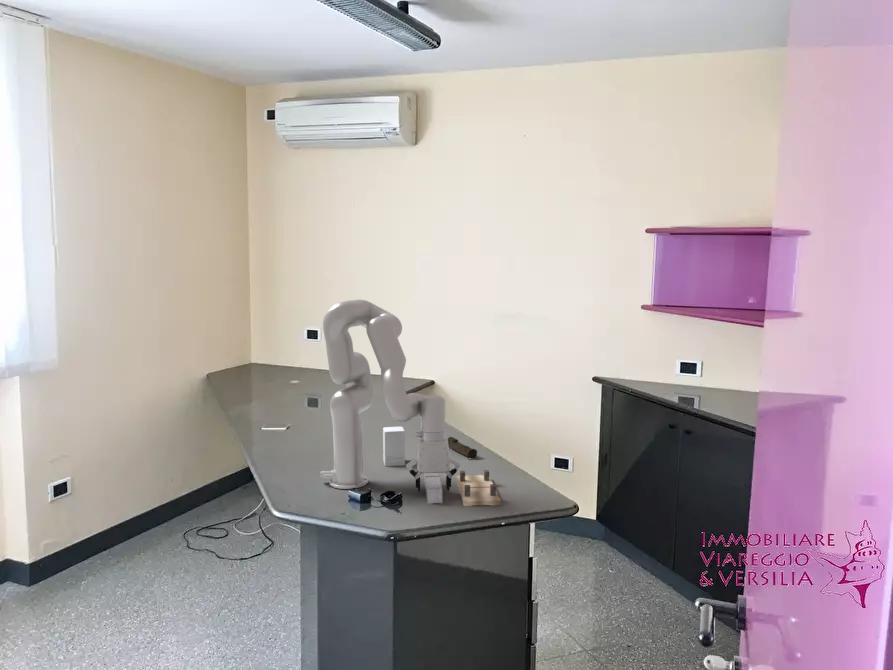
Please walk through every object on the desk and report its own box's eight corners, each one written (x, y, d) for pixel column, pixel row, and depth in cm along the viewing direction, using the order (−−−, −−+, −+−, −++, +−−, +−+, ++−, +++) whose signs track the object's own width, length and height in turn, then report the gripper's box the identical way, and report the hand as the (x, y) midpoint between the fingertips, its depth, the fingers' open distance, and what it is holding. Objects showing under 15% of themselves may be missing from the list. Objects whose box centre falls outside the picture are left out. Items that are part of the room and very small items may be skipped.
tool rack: (464, 506, 201) (464, 491, 201) (456, 480, 225) (456, 467, 225) (500, 505, 202) (500, 490, 202) (488, 479, 226) (489, 466, 225)
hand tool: (477, 459, 250) (477, 446, 249) (468, 460, 248) (468, 448, 248) (454, 446, 267) (454, 435, 266) (445, 447, 265) (445, 436, 264)
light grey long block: (427, 504, 203) (427, 489, 203) (424, 484, 221) (424, 470, 221) (442, 503, 204) (442, 489, 203) (438, 483, 222) (438, 470, 221)
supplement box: (405, 465, 241) (405, 431, 240) (384, 466, 240) (384, 431, 238) (403, 459, 248) (402, 425, 247) (383, 460, 247) (382, 426, 246)
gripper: (405, 439, 206) (406, 494, 208) (462, 438, 207) (462, 492, 209) (404, 433, 213) (405, 486, 215) (459, 431, 215) (459, 484, 217)
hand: (433, 489), depth 212 cm, fingers open, 8 cm apart
